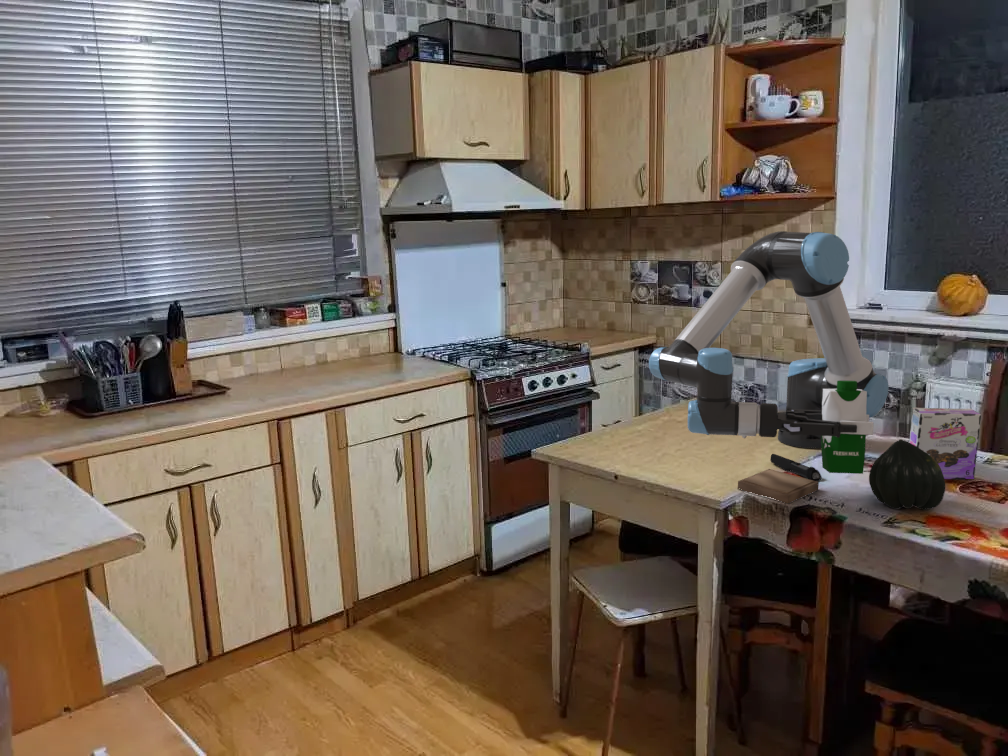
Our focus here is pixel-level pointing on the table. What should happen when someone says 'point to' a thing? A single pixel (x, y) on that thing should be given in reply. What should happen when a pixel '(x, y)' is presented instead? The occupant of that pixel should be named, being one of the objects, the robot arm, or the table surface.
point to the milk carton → (847, 448)
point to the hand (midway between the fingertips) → (870, 424)
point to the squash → (907, 478)
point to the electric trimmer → (796, 467)
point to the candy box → (948, 438)
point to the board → (778, 485)
